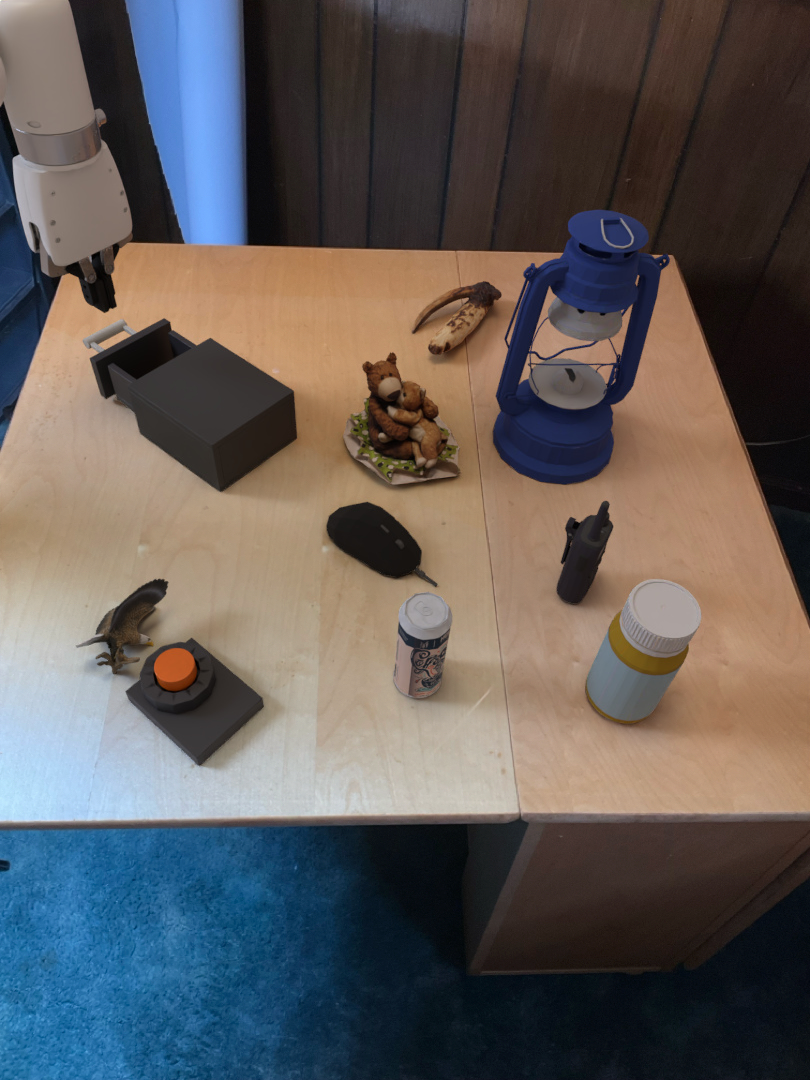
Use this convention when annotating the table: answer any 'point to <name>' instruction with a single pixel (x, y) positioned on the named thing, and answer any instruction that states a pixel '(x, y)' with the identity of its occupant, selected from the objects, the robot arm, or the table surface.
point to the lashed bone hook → (459, 314)
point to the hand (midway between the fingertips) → (102, 305)
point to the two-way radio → (583, 554)
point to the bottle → (642, 650)
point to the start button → (175, 669)
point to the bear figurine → (400, 430)
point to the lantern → (585, 314)
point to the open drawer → (132, 355)
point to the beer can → (421, 644)
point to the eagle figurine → (127, 624)
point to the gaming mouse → (375, 539)
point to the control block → (196, 703)
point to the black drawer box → (214, 413)
